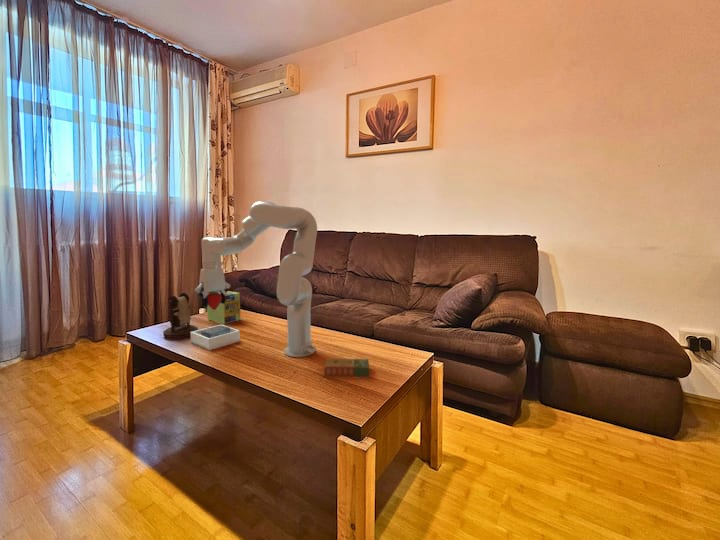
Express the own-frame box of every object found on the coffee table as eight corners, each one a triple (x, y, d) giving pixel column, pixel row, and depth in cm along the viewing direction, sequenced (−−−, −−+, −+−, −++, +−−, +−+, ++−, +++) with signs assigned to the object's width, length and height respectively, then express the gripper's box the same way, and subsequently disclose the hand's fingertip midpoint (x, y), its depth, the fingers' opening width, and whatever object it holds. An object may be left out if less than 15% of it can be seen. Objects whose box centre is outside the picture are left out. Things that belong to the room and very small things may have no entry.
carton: (326, 368, 130) (326, 357, 130) (368, 368, 131) (369, 358, 130) (324, 378, 122) (324, 366, 122) (369, 378, 122) (369, 367, 122)
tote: (240, 341, 158) (239, 330, 157) (209, 350, 146) (208, 339, 145) (221, 334, 167) (221, 324, 166) (191, 342, 155) (190, 332, 154)
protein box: (224, 324, 182) (223, 296, 180) (207, 320, 191) (205, 292, 188) (241, 320, 191) (240, 292, 189) (223, 315, 199) (222, 289, 197)
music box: (182, 341, 156) (179, 298, 153) (155, 338, 160) (152, 296, 157) (205, 332, 170) (202, 292, 167) (180, 329, 174) (177, 290, 171)
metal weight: (230, 337, 159) (229, 327, 158) (211, 344, 150) (210, 333, 150) (220, 335, 162) (220, 325, 161) (201, 341, 154) (201, 330, 153)
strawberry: (202, 310, 153) (201, 288, 151) (216, 307, 159) (215, 286, 158) (211, 312, 150) (210, 290, 148) (225, 309, 156) (224, 287, 155)
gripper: (225, 263, 161) (226, 300, 163) (188, 266, 147) (190, 307, 149) (234, 264, 156) (236, 302, 159) (197, 268, 142) (199, 310, 145)
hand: (213, 304), depth 154 cm, fingers closed on strawberry, 7 cm apart
